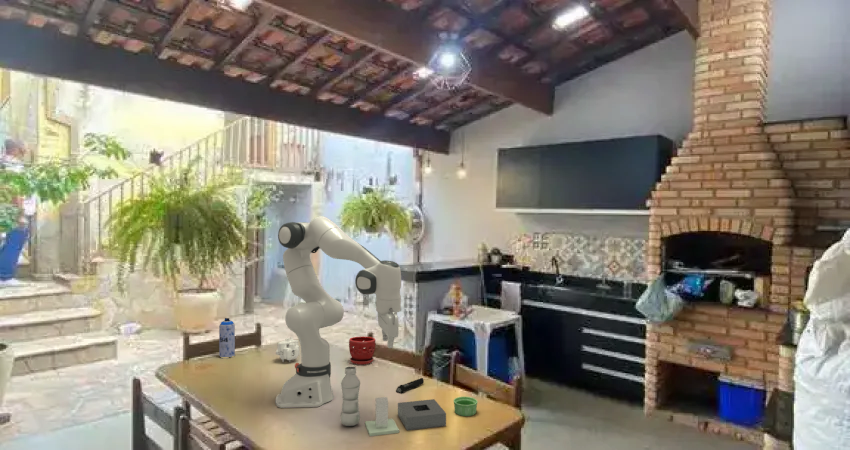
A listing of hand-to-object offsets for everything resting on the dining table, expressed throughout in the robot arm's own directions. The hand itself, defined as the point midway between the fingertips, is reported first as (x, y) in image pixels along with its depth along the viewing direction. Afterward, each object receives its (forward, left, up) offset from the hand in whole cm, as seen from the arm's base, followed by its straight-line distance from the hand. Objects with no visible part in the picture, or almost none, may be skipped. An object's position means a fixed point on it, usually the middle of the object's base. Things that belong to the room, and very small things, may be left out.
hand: (387, 343), depth 182 cm
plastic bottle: (-14, -3, -27) cm, 31 cm away
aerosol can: (-64, +100, -27) cm, 122 cm away
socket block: (+11, -6, -27) cm, 30 cm away
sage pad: (-4, -9, -27) cm, 29 cm away
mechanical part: (-34, +83, -27) cm, 94 cm away
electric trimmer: (+16, +28, -27) cm, 42 cm away
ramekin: (+29, -3, -27) cm, 40 cm away
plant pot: (+2, +71, -27) cm, 76 cm away
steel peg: (-4, -9, -26) cm, 28 cm away
